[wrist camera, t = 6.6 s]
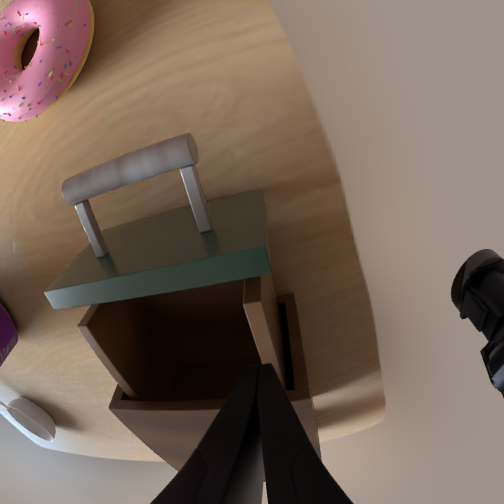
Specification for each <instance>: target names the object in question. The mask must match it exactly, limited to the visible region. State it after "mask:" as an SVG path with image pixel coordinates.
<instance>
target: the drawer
mask: <svg viewBox="0 0 504 504" xmlns="http://www.w3.org/2000/svg"><path fill="white" fill-rule="evenodd" d="M198 160H199V156H198V149H197V145H196V142H195V140H194V138H193V136H192V134H191V133H186V134H183V135H180V136H177V137H173V138H170V139H167V140H164V141H161V142H158V143H155V144H152V145H149V146H147V147H144V148H141V149H138V150H136V151H133V152H130V153H127V154H125V155H122V156H120V157H117V158H115V159H112V160H110V161H107V162H105V163H102V164H100V165H98V166H95V167H93V168H91V169H88V170H86V171H84V172H82V173H79V174H77V175H75V176H73V177H71V178H68V179H66V180H65V181H64V182H63V184H62V195H63V197H64V199H65V201H66V202H67V203H68V204H70V205H75V204H76V205H75V207H76V210H77V212H78V215H79V217H80V220H81V222H82V225H83V227H84V229H85V232H86V234H87V236H88V239H89V241H90V244H89V245H88V246H87V247H86V248H85V249H84V250H83V251H82V252H81V253H80V254H79V255H78V256H77V257H76V258H75V259H74V260H73V261H72V262H71V263H70V264H69V265H68V266H67V267H66V268H65V269H64V270H63V272H62V273H61V274H60V275H59V276H58V277H57V278H56V279H55V280H54V281H53V282H52V283H51V285H50V286H49V287H48V288H47V289H46V290H45V291H44V293H45V295H46V297H47V298H48V300H49V302H50V304H51V305H52V307H53V309H54V310H59V309H66V308H73V307H80V306H87V305H91V306H90V308H89V309H88V311H87V312H86V314H85V315H84V317H83V318H82V320H81V321H80V323H79V324H78V326H77V327H78V329H79V330H80V332H81V333H82V335H83V336H84V338H85V339H86V341H87V342H88V344H89V345H90V347H91V348H92V350H93V351H94V352H95V354H96V355H97V357H98V358H99V359H100V361H101V362H102V363H103V365H104V366H105V367H106V369H107V370H108V371H109V373H110V374H111V375H112V376H113V378H114V379H115V380H116V382H117V383H118V384H119V385H120V387H121V388H122V389H123V390H124V391H125V393H126V394H127V395H128V396H129V397H130V399H131V400H134V401H184V400H207V399H221V398H227V397H228V396H229V394H230V392H231V391H232V389H233V387H234V386H235V384H236V382H237V381H238V379H239V377H240V376H241V374H242V372H243V371H244V369H245V367H247V366H250V365H260V364H266V363H272V365H273V367H274V369H275V371H276V373H277V375H278V377H279V379H280V381H281V383H282V385H283V387H284V389H285V391H290V390H292V379H291V369H290V359H289V350H288V346H287V341H286V337H285V333H284V328H283V324H282V320H281V316H280V311H279V307H278V303H277V299H276V294H275V290H274V286H273V282H272V277H271V273H272V267H271V254H270V242H269V230H268V219H267V207H266V202H265V198H264V194H263V190H262V189H260V190H256V191H251V192H247V193H242V194H238V195H233V196H229V197H225V198H220V199H216V200H212V201H208V202H206V200H205V196H204V193H203V190H202V186H201V183H200V179H199V176H198V173H197V169H196V166H195V164H197V163H198ZM179 168H181V169H180V172H181V175H182V179H183V182H184V185H185V188H186V191H187V195H188V198H189V201H190V204H191V206H188V207H184V208H180V209H176V210H173V211H169V212H165V213H161V214H158V215H154V216H150V217H147V218H143V219H140V220H136V221H133V222H129V223H126V224H122V225H119V226H116V227H112V228H109V229H106V230H104V231H103V232H101V231H100V228H99V226H98V224H97V221H96V219H95V216H94V214H93V211H92V208H91V206H90V203H89V201H88V199H90V198H93V197H95V196H98V195H101V194H103V193H106V192H109V191H111V190H114V189H117V188H120V187H123V186H126V185H129V184H131V183H134V182H137V181H140V180H143V179H147V178H150V177H153V176H156V175H159V174H162V173H166V172H169V171H172V170H176V169H179Z"/></svg>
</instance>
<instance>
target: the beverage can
mask: <svg viewBox="0 0 504 504" xmlns="http://www.w3.org/2000/svg"><path fill="white" fill-rule="evenodd" d="M17 341H18V335H17V331H16V329H15V326H14V324H13V322H12V319H11V317H10V315H9V313H8V312H7V310H6V309H5V307H4V306H3V305H2V304H1V302H0V366H1V365H2V363H3V362H4V360H5V359H6V358H7V356H8V355H9V353H10V352H11V350H12V349H13V348H14V346H15V345H16V343H17Z"/></svg>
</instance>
